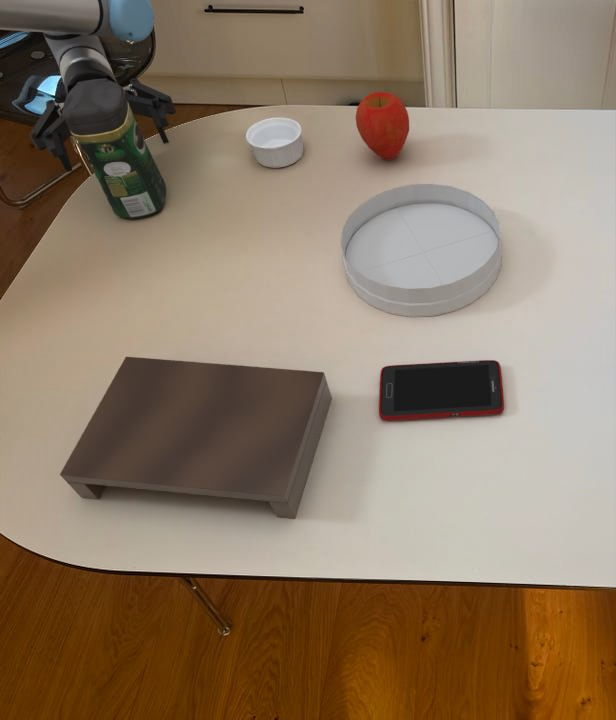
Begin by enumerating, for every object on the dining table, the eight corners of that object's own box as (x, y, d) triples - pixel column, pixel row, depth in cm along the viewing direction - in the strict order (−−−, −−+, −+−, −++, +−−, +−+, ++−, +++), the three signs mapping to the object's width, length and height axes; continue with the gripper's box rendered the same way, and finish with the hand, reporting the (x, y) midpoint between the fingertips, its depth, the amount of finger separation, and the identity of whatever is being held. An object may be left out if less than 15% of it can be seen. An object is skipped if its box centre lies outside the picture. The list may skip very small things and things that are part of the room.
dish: (374, 338, 91) (368, 311, 87) (326, 235, 103) (319, 208, 100) (528, 286, 96) (530, 258, 92) (464, 194, 109) (463, 167, 105)
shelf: (81, 498, 77) (59, 474, 73) (142, 382, 87) (125, 356, 83) (295, 519, 75) (283, 496, 71) (332, 397, 85) (324, 371, 81)
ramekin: (271, 135, 120) (264, 112, 117) (316, 145, 118) (311, 122, 115) (242, 164, 115) (234, 141, 112) (289, 175, 113) (282, 152, 110)
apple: (351, 156, 116) (339, 95, 108) (391, 135, 120) (383, 75, 111) (383, 179, 112) (373, 118, 104) (424, 157, 115) (418, 96, 107)
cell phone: (381, 370, 87) (380, 365, 86) (500, 363, 87) (500, 358, 86) (379, 422, 82) (377, 417, 81) (504, 415, 82) (504, 410, 82)
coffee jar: (117, 187, 112) (61, 77, 98) (169, 179, 113) (121, 69, 99) (111, 225, 106) (51, 114, 92) (166, 217, 107) (114, 105, 93)
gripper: (176, 83, 119) (209, 146, 107) (19, 125, 112) (36, 197, 100) (160, 39, 113) (193, 100, 102) (-7, 81, 106) (7, 152, 94)
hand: (115, 149), depth 101 cm, fingers open, 13 cm apart
